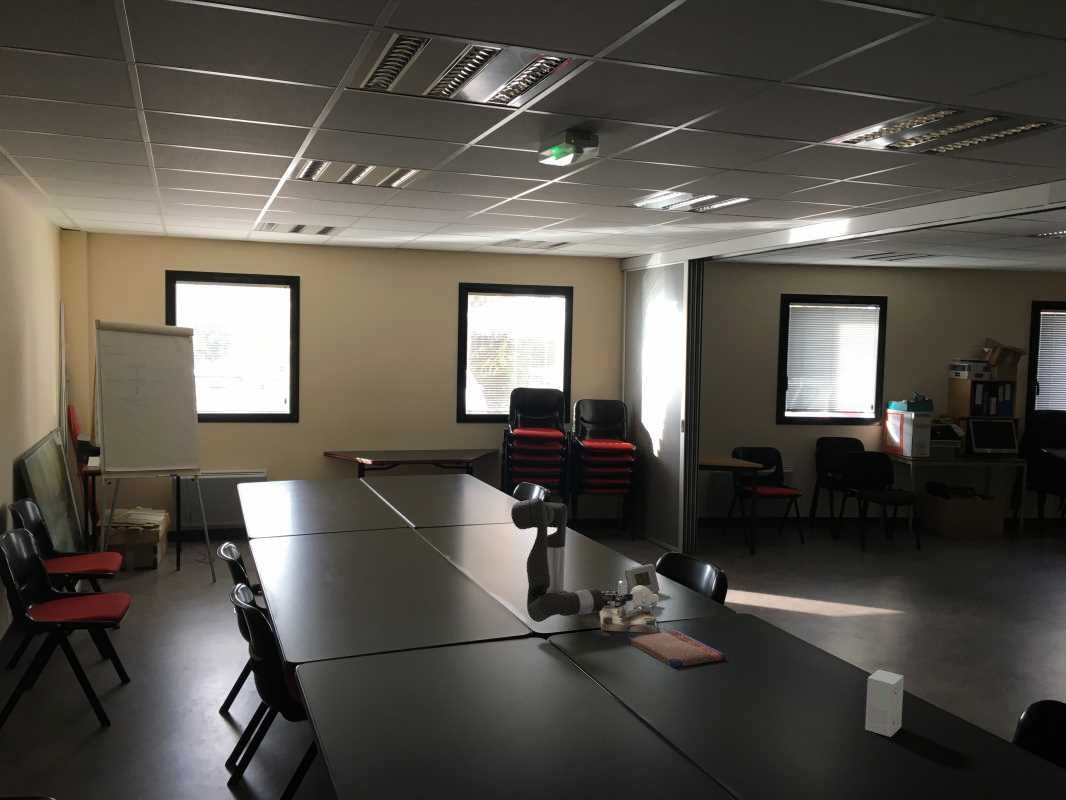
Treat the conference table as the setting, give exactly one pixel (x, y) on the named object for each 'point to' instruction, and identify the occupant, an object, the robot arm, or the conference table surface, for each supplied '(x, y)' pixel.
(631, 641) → the clutch
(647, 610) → the footscrew lever
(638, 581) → the digital clock
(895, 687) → the small box
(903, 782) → the conference table surface
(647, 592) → the white lumpy figure
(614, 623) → the tribrach base
